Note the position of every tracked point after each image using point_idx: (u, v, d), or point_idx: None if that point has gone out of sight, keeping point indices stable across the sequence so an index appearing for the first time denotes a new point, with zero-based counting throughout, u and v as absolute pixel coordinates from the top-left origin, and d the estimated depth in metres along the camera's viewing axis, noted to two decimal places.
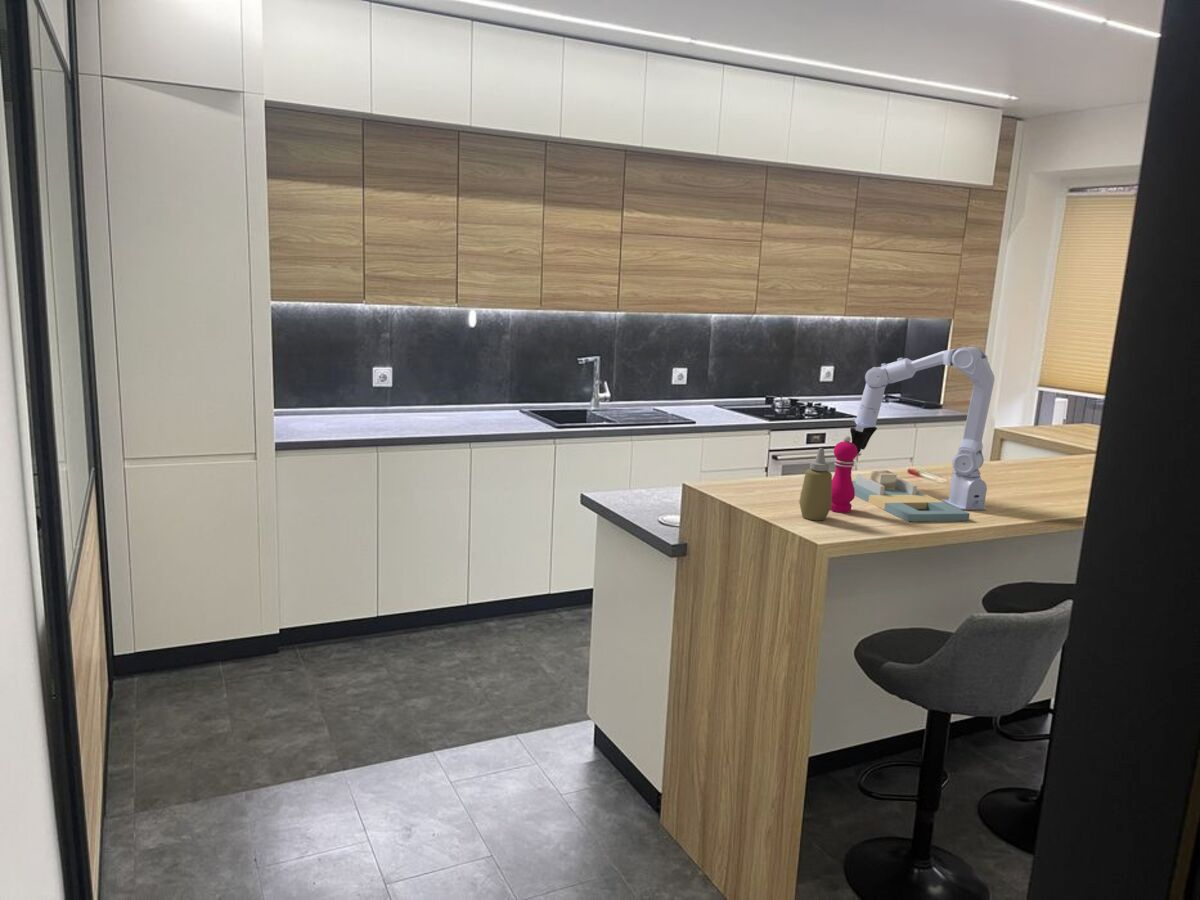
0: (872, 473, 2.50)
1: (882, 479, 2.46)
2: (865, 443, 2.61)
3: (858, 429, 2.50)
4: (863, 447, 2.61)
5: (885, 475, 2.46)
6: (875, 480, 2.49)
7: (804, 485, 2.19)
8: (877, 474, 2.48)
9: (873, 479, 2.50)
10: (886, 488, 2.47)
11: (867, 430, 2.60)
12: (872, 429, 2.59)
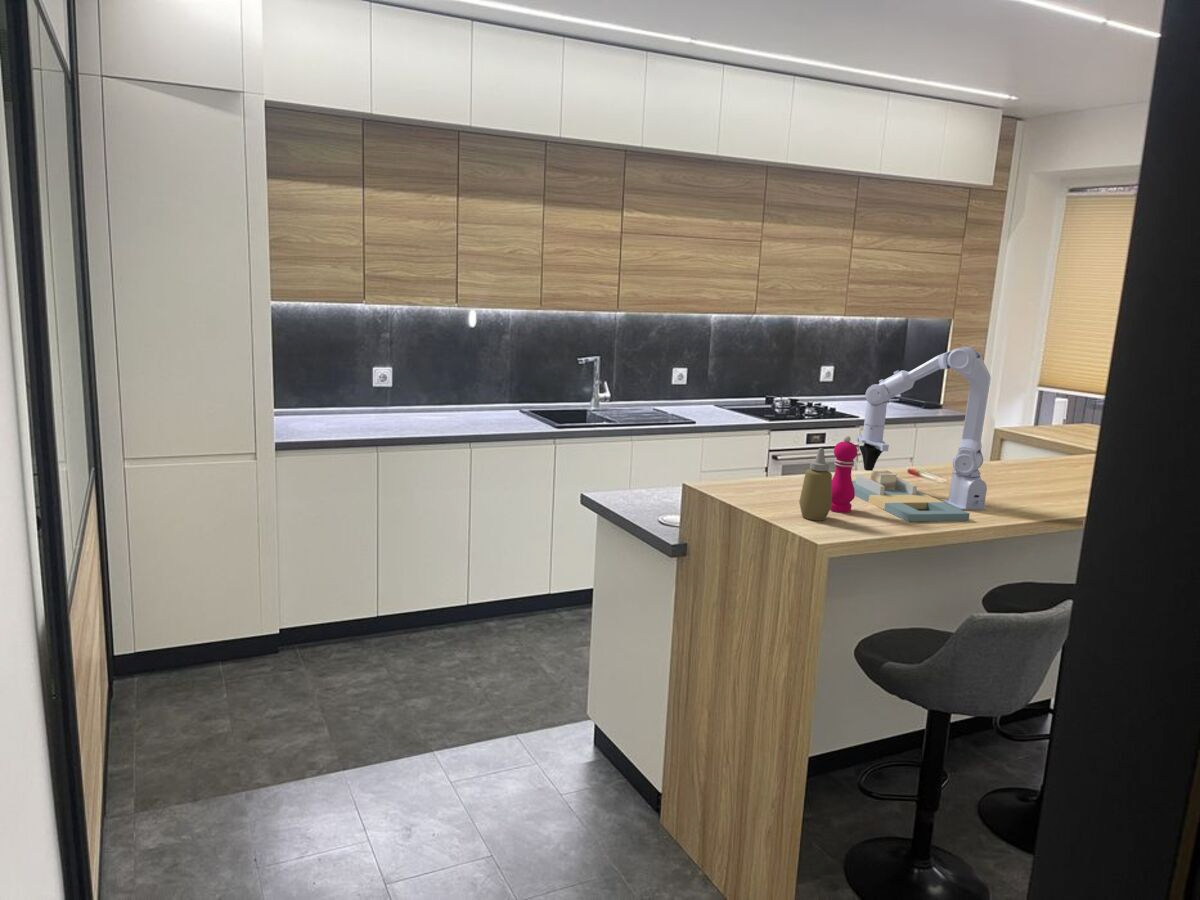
0: (872, 473, 2.50)
1: (882, 479, 2.46)
2: None
3: (884, 449, 2.48)
4: None
5: (885, 475, 2.46)
6: (875, 480, 2.49)
7: (804, 485, 2.19)
8: (877, 474, 2.48)
9: (873, 479, 2.50)
10: (886, 488, 2.47)
11: None
12: None
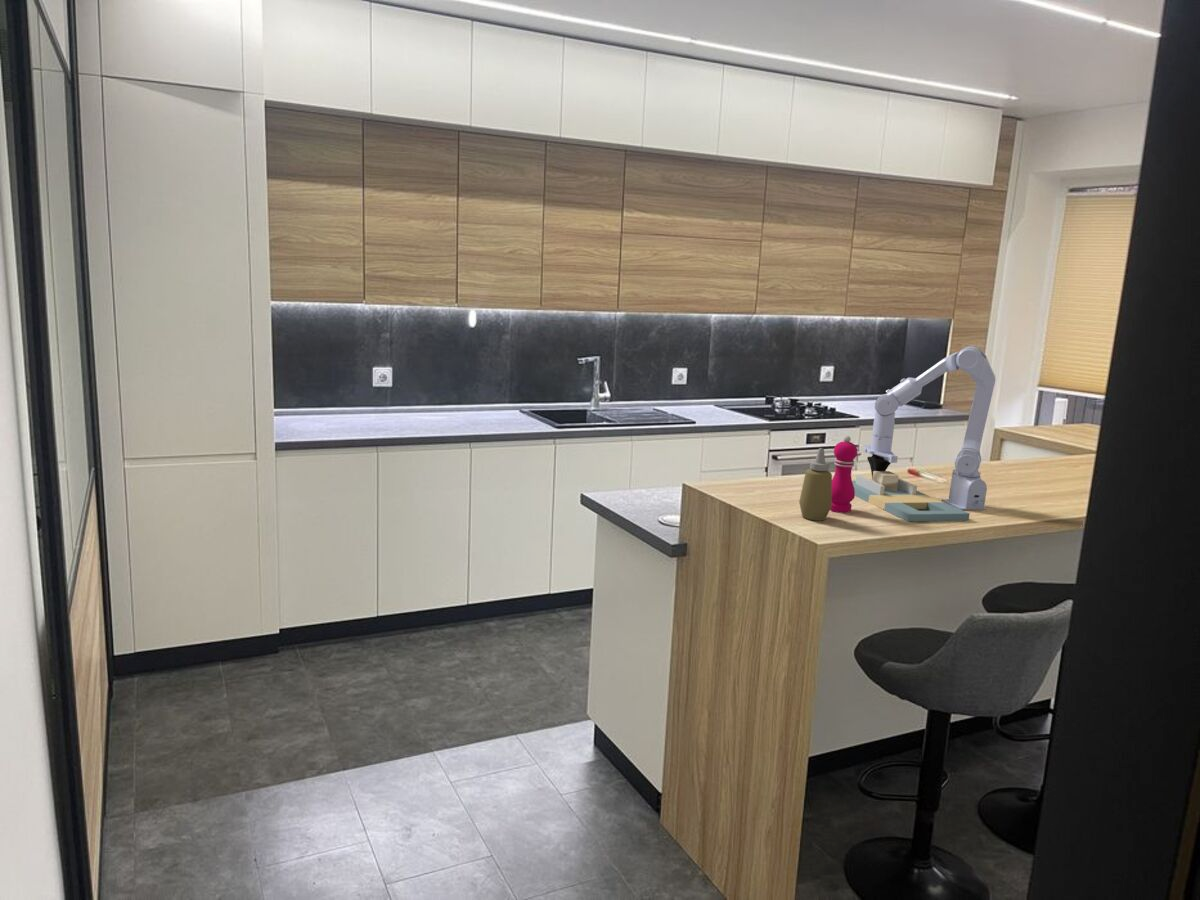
0: (874, 474, 2.49)
1: (884, 480, 2.46)
2: None
3: (893, 461, 2.44)
4: None
5: (887, 476, 2.46)
6: (877, 481, 2.48)
7: (804, 485, 2.19)
8: (879, 475, 2.47)
9: (875, 480, 2.49)
10: (888, 489, 2.47)
11: (880, 461, 2.52)
12: None
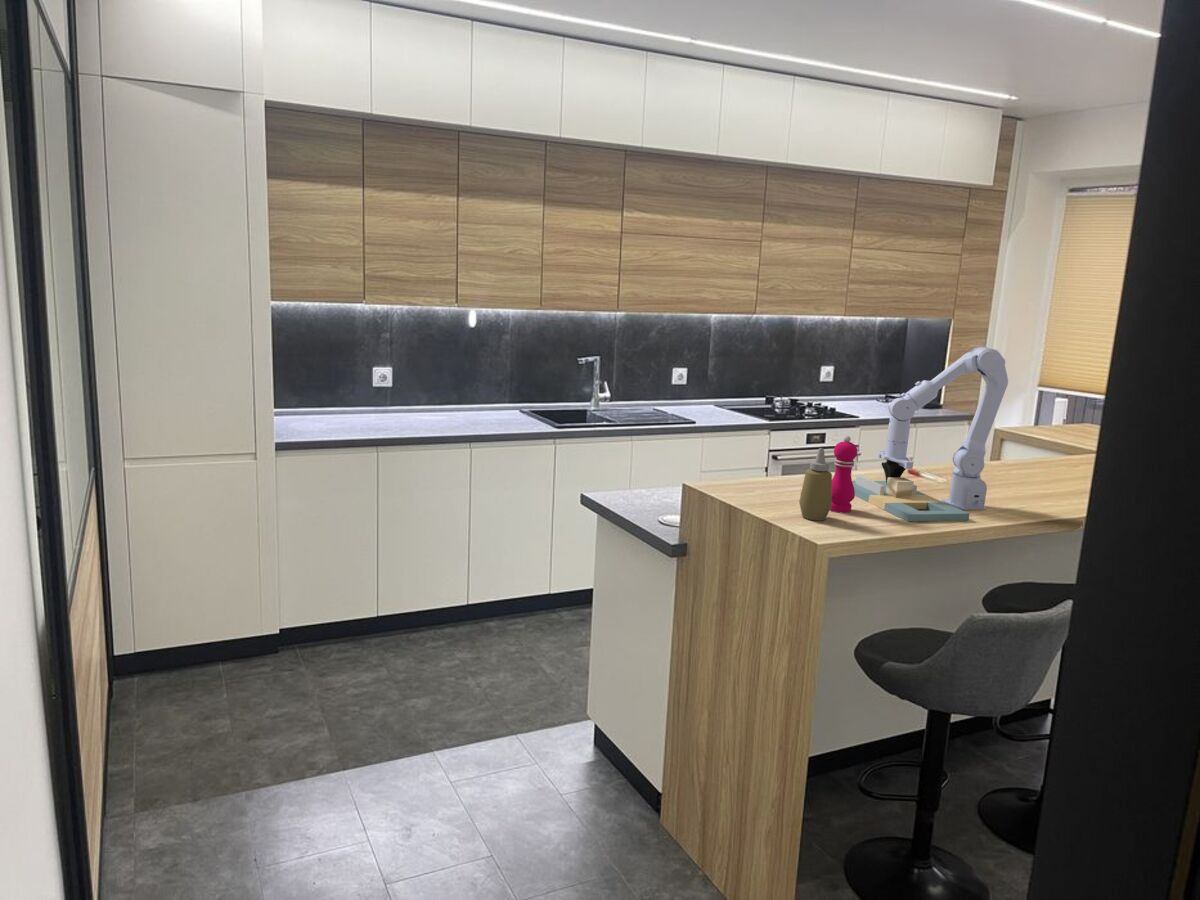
0: (888, 480, 2.42)
1: (899, 486, 2.38)
2: None
3: (908, 467, 2.37)
4: None
5: (902, 482, 2.38)
6: (891, 487, 2.41)
7: (804, 485, 2.19)
8: (893, 481, 2.40)
9: (889, 486, 2.42)
10: (903, 496, 2.39)
11: (895, 467, 2.45)
12: None
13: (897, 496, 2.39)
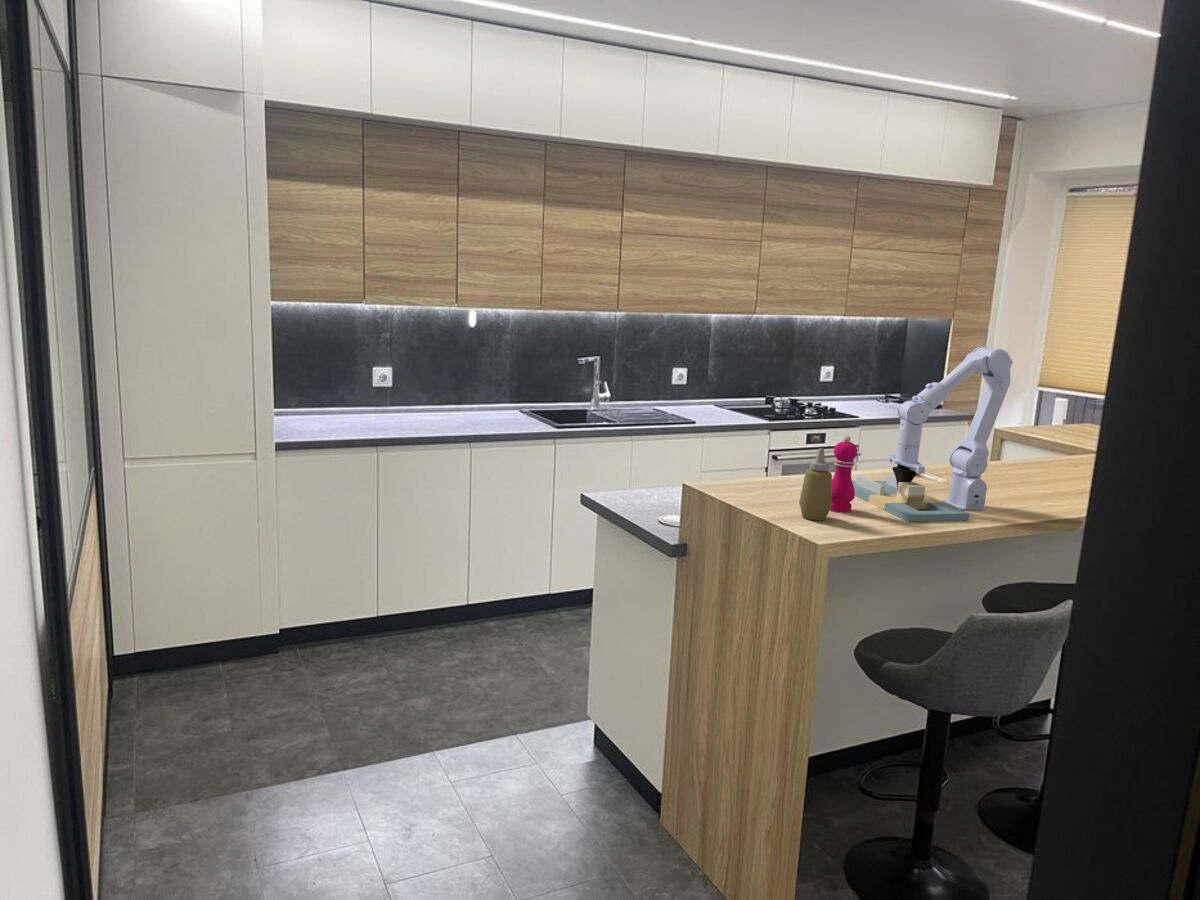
0: (899, 485, 2.37)
1: (910, 491, 2.33)
2: None
3: (920, 472, 2.32)
4: None
5: (913, 487, 2.33)
6: (902, 493, 2.36)
7: (804, 485, 2.19)
8: (905, 486, 2.35)
9: (900, 491, 2.37)
10: (914, 501, 2.34)
11: None
12: None
13: (908, 501, 2.34)
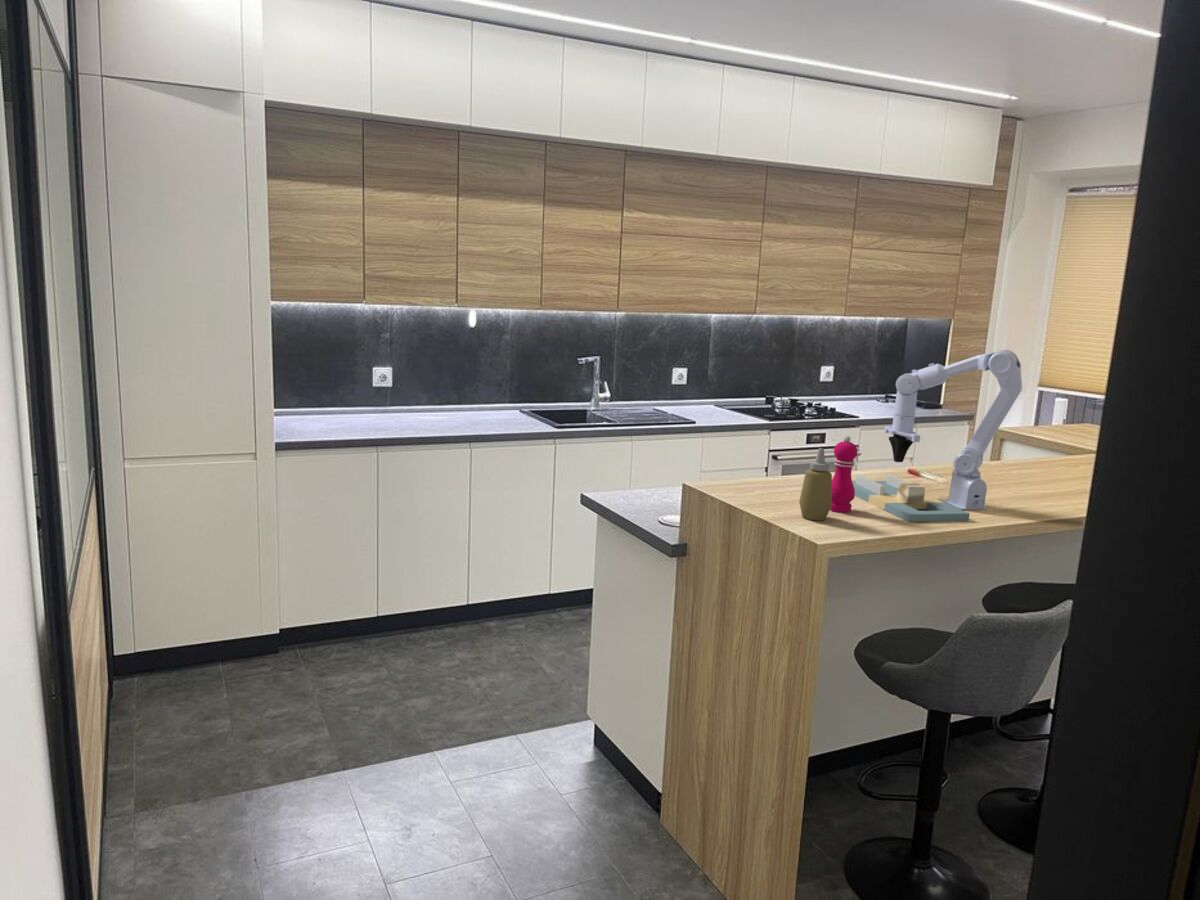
0: (899, 485, 2.37)
1: (910, 491, 2.33)
2: None
3: (916, 440, 2.42)
4: None
5: (913, 487, 2.33)
6: (902, 493, 2.36)
7: (804, 485, 2.19)
8: (905, 486, 2.35)
9: (900, 491, 2.37)
10: (914, 501, 2.34)
11: None
12: None
13: (908, 501, 2.34)
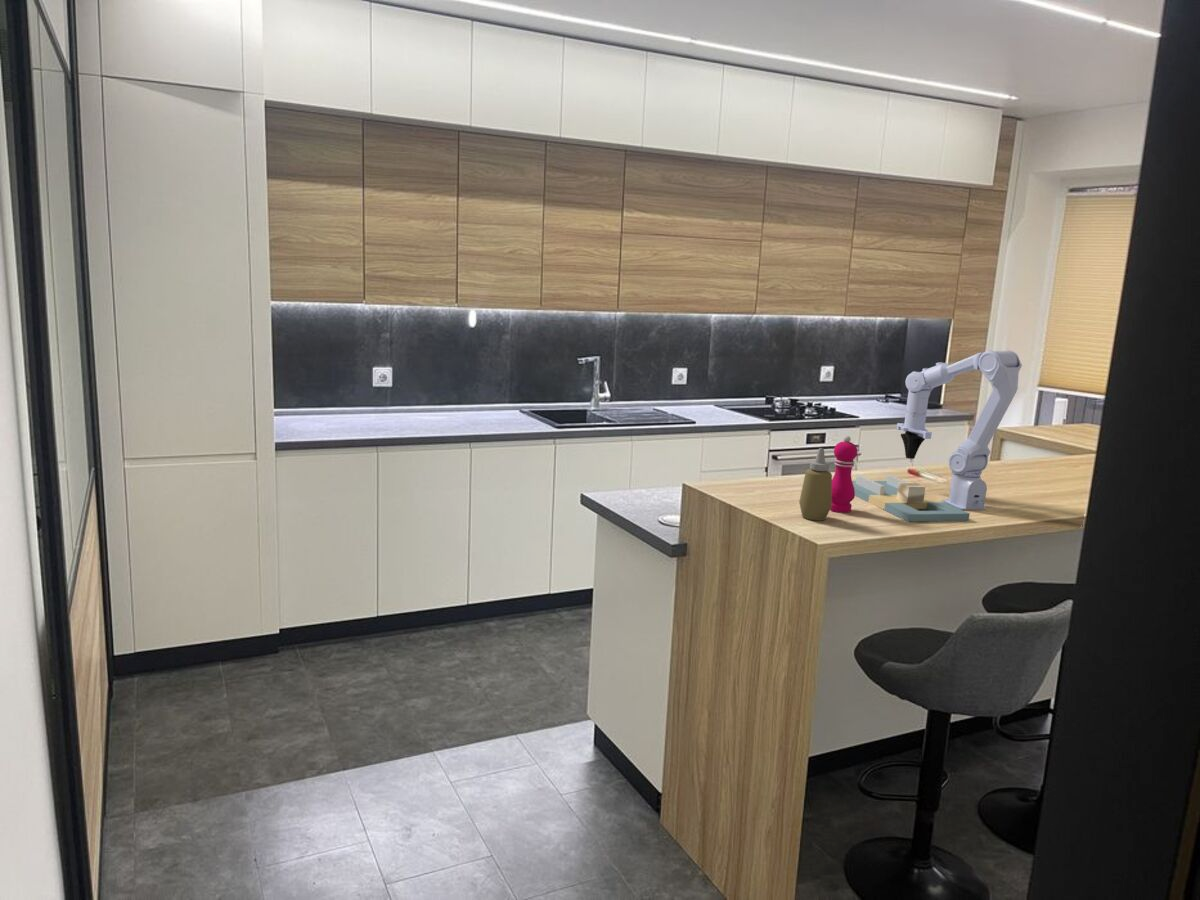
0: (899, 485, 2.37)
1: (910, 491, 2.33)
2: None
3: (927, 437, 2.49)
4: None
5: (913, 487, 2.33)
6: (902, 493, 2.36)
7: (804, 485, 2.19)
8: (905, 486, 2.35)
9: (900, 491, 2.37)
10: (914, 501, 2.34)
11: None
12: None
13: (908, 501, 2.34)
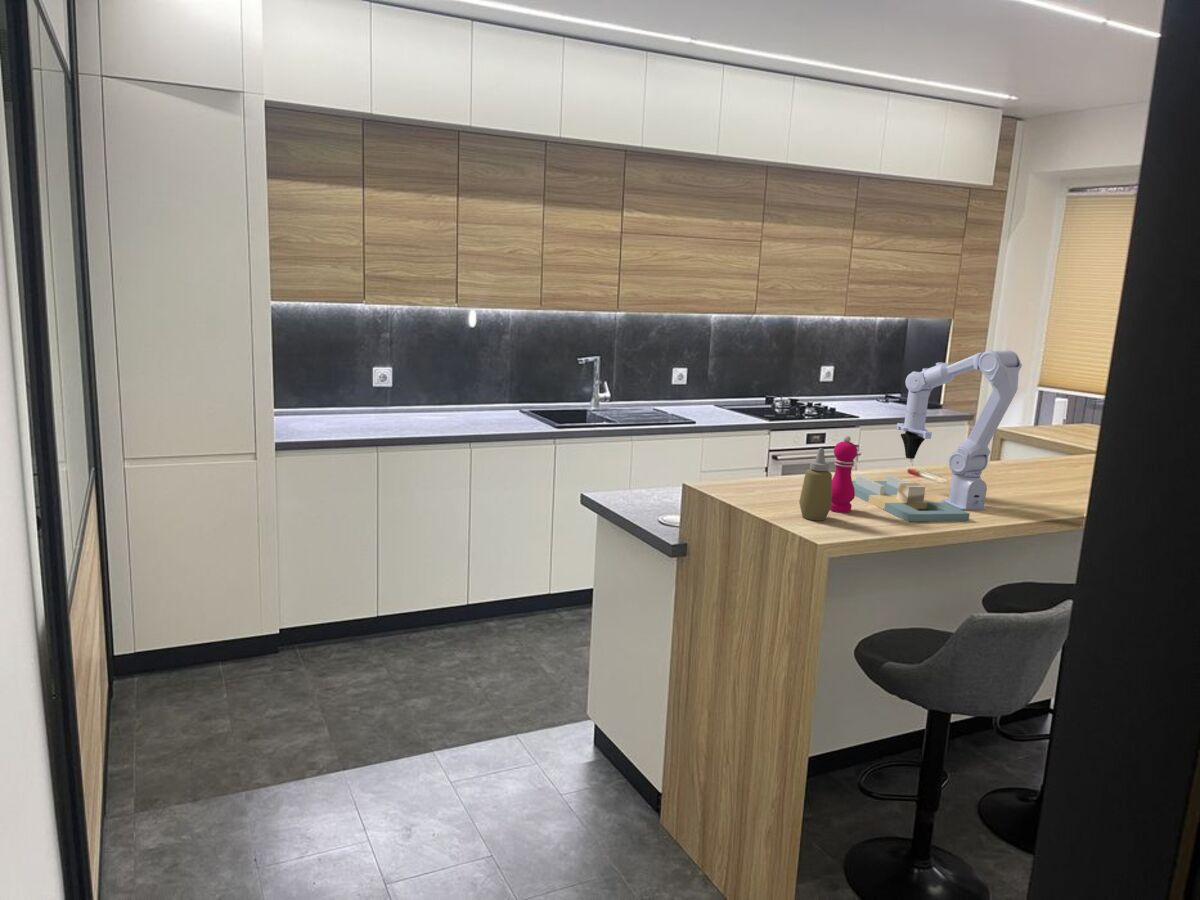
0: (899, 485, 2.37)
1: (910, 491, 2.33)
2: None
3: (927, 437, 2.49)
4: None
5: (913, 487, 2.33)
6: (902, 493, 2.36)
7: (804, 485, 2.19)
8: (905, 486, 2.35)
9: (900, 491, 2.37)
10: (914, 501, 2.34)
11: None
12: None
13: (908, 501, 2.34)
